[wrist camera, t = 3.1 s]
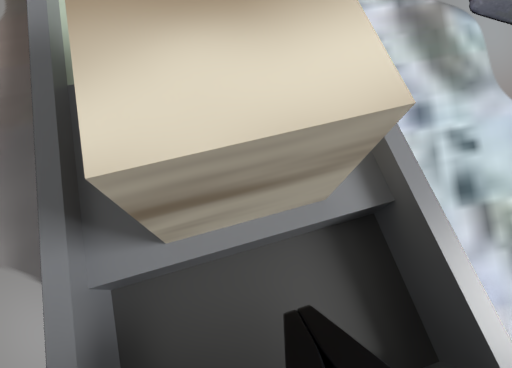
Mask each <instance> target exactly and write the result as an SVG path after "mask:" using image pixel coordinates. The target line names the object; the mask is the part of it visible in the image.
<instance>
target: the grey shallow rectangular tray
mask: <svg viewBox="0 0 512 368" xmlns="http://www.w3.org/2000/svg"><path fill="white" fill-rule="evenodd" d="M27 14H28V33H29V52H30V70H31V89H32V108H33V127H34V145H35V164H36V183H37V202H38V221H39V239H40V258H41V277H42V295H43V315H44V332H45V352H46V368H286V366H285V344H284V323H283V314H284V313H286V312H289V311H292V310H297V309H298V308H300V307H303V306H306V305H311V306H312V307H314V308H315V309H316V310H318V311H319V312H320V313H321V314H323V315H324V316H325V317H327V318H328V319H329V320H331V321H332V322H333V323H334V324H336V325H337V326H338V327H340V328H341V329H342V330H343V331H345V332H346V333H347V334H349V335H350V336H351V337H353V338H354V339H355V340H356V341H358V342H359V343H360V344H362V345H363V346H364V347H365V348H367V349H368V350H369V351H371V352H372V353H373V354H375V355H376V356H377V357H378V358H380V359H381V360H382V361H384V362H385V363H386V364H387V365H389V366H390V367H391V368H512V340H511V339H510V337H509V335H508V333H507V331H506V329H505V327H504V325H503V323H502V321H501V320H500V318H499V316H498V314H497V312H496V310H495V308H494V306H493V304H492V302H491V301H490V299H489V297H488V295H487V293H486V291H485V289H484V287H483V285H482V283H481V282H480V280H479V278H478V276H477V274H476V272H475V270H474V268H473V266H472V264H471V263H470V261H469V259H468V257H467V255H466V253H465V251H464V249H463V247H462V246H461V244H460V242H459V240H458V238H457V236H456V234H455V232H454V230H453V228H452V227H451V225H450V223H449V221H448V219H447V217H446V215H445V213H444V211H443V209H442V208H441V206H440V204H439V202H438V200H437V198H436V196H435V194H434V192H433V190H432V189H431V187H430V185H429V183H428V181H427V179H426V177H425V175H424V173H423V171H422V170H421V168H420V166H419V164H418V162H417V160H416V158H415V156H414V154H413V153H412V151H411V149H410V147H409V145H408V143H407V141H406V139H405V137H404V135H403V134H402V132H401V130H400V128H399V126H398V124H397V123H396V124H395V126H394V127H393V128H392V129H391V130H390V131H389V132H388V133H387V134H386V135H385V136H384V137H383V138H382V140H381V141H380V142H379V143H378V144H377V145H376V146H375V147H374V148H373V149H372V150H371V151H370V152H369V153H368V155H367V156H366V157H365V158H364V159H363V160H362V161H361V162H360V163H359V164H358V165H357V166H356V167H355V168H354V170H353V171H352V172H351V173H350V174H349V175H348V176H347V177H346V178H345V179H344V180H343V181H342V182H341V183H340V185H339V186H338V187H337V188H336V189H335V190H334V191H333V192H332V193H331V194H330V195H329V196H328V197H327V199H326V200H322V201H319V202H315V203H312V204H308V205H304V206H301V207H297V208H293V209H290V210H286V211H283V212H279V213H275V214H272V215H268V216H264V217H261V218H257V219H254V220H250V221H246V222H243V223H239V224H236V225H232V226H228V227H225V228H221V229H217V230H214V231H210V232H207V233H203V234H199V235H196V236H192V237H188V238H185V239H181V240H178V241H174V242H170V243H167V244H166V243H164V242H163V241H162V240H161V239H159V238H158V237H157V236H156V235H154V234H153V233H152V232H151V231H149V230H148V229H147V228H146V227H144V226H143V225H142V224H141V223H139V222H138V221H137V220H136V219H134V218H133V217H132V216H131V215H129V214H128V213H127V212H126V211H124V210H123V209H122V208H121V207H119V206H118V205H117V204H116V203H115V202H113V201H112V200H111V199H110V198H108V197H107V196H106V195H105V194H103V193H102V192H101V191H100V190H98V189H97V188H96V187H95V186H93V185H92V184H91V183H90V182H88V181H87V180H86V179H85V175H84V166H83V157H82V148H81V139H80V130H79V121H78V112H77V103H76V94H75V86H74V77H73V68H72V59H71V50H70V41H69V32H68V23H67V14H66V5H65V0H27Z"/></svg>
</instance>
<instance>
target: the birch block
mask: <svg viewBox="0 0 512 368" xmlns="http://www.w3.org/2000/svg"><path fill="white" fill-rule="evenodd" d="M65 5H66V14H67V23H68V32H69V41H70V50H71V59H72V68H73V77H74V86H75V94H76V103H77V112H78V121H79V130H80V139H81V148H82V157H83V166H84V175H85V179H86V180H87V181H88V182H90V183H91V184H92V185H93V186H95V187H96V188H97V189H98V190H100V191H101V192H102V193H103V194H105V195H106V196H107V197H108V198H110V199H111V200H112V201H113V202H115V203H116V204H117V205H118V206H119V207H121V208H122V209H123V210H124V211H126V212H127V213H128V214H129V215H131V216H132V217H133V218H134V219H136V220H137V221H138V222H139V223H141V224H142V225H143V226H144V227H146V228H147V229H148V230H149V231H151V232H152V233H153V234H154V235H156V236H157V237H158V238H159V239H161V240H162V241H163V242H164V243H166V244H167V243H170V242H174V241H178V240H181V239H185V238H188V237H192V236H196V235H199V234H203V233H207V232H210V231H214V230H217V229H221V228H225V227H228V226H232V225H236V224H239V223H243V222H246V221H250V220H254V219H257V218H261V217H264V216H268V215H272V214H275V213H279V212H283V211H286V210H290V209H293V208H297V207H301V206H304V205H308V204H312V203H315V202H319V201H322V200H326V199H327V197H328V196H329V195H330V194H331V193H332V192H333V191H334V190H335V189H336V188H337V187H338V186H339V185H340V183H341V182H342V181H343V180H344V179H345V178H346V177H347V176H348V175H349V174H350V173H351V172H352V171H353V170H354V168H355V167H356V166H357V165H358V164H359V163H360V162H361V161H362V160H363V159H364V158H365V157H366V156H367V155H368V153H369V152H370V151H371V150H372V149H373V148H374V147H375V146H376V145H377V144H378V143H379V142H380V141H381V140H382V138H383V137H384V136H385V135H386V134H387V133H388V132H389V131H390V130H391V129H392V128H393V127H394V126H395V124H396V123H397V122H398V121H399V120H400V119H401V118H402V117H403V116H404V115H405V114H406V113H407V112H408V111H409V109H410V108H411V107H412V106H413V105H414V104H415V103H416V102H415V100H414V99H413V97H412V95H411V93H410V92H409V90H408V88H407V86H406V85H405V83H404V81H403V79H402V78H401V76H400V74H399V72H398V70H397V69H396V67H395V65H394V63H393V62H392V60H391V58H390V56H389V55H388V53H387V51H386V49H385V48H384V46H383V44H382V42H381V40H380V39H379V37H378V35H377V33H376V32H375V30H374V28H373V26H372V25H371V23H370V21H369V19H368V17H367V16H366V14H365V12H364V10H363V9H362V7H361V5H360V3H359V2H358V0H65Z"/></svg>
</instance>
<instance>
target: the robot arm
mask: <svg viewBox="0 0 512 368" xmlns="http://www.w3.org/2000/svg"><path fill="white" fill-rule="evenodd" d="M283 323H284V344H285V366H286V368H391V367H390V366H389V365H387V364H386V363H385V362H384V361H382V360H381V359H380V358H378V357H377V356H376V355H375V354H373V353H372V352H371V351H369V350H368V349H367V348H365V347H364V346H363V345H362V344H360V343H359V342H358V341H356V340H355V339H354V338H353V337H351V336H350V335H349V334H347V333H346V332H345V331H343V330H342V329H341V328H340V327H338V326H337V325H336V324H334V323H333V322H332V321H331V320H329V319H328V318H327V317H325V316H324V315H323V314H321V313H320V312H319V311H318V310H316V309H315V308H314V307H312V306H311V305H306V306H303V307H300V308H298V309H297V310H292V311H289V312H286V313H284V314H283Z"/></svg>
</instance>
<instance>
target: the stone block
mask: <svg viewBox="0 0 512 368" xmlns="http://www.w3.org/2000/svg"><path fill="white" fill-rule="evenodd" d="M469 2H470V4H469V8H470V11H471V12H472V13H474V14H476V15H480V16H483V17H486V18H489V19H493V20H497V21H500V22H503V23H507V24H510V25H512V0H469Z"/></svg>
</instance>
